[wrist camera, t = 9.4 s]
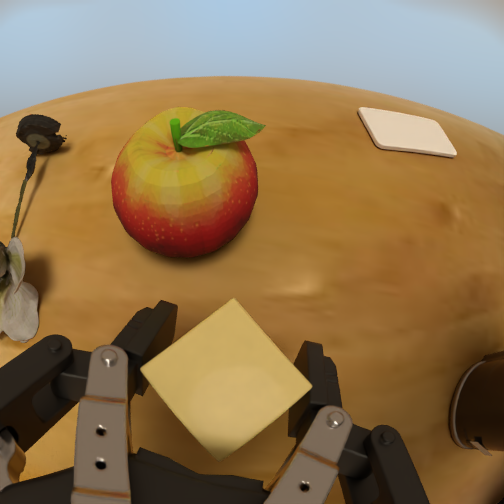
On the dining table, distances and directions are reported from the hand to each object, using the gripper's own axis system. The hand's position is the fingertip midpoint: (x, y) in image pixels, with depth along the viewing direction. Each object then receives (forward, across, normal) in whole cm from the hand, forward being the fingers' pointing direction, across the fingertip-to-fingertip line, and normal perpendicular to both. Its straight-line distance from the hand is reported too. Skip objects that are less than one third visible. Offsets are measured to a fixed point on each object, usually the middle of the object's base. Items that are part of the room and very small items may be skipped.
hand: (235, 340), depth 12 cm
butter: (+2, 0, +4) cm, 5 cm away
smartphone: (+29, -16, -16) cm, 36 cm away
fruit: (+13, +6, -1) cm, 15 cm away
